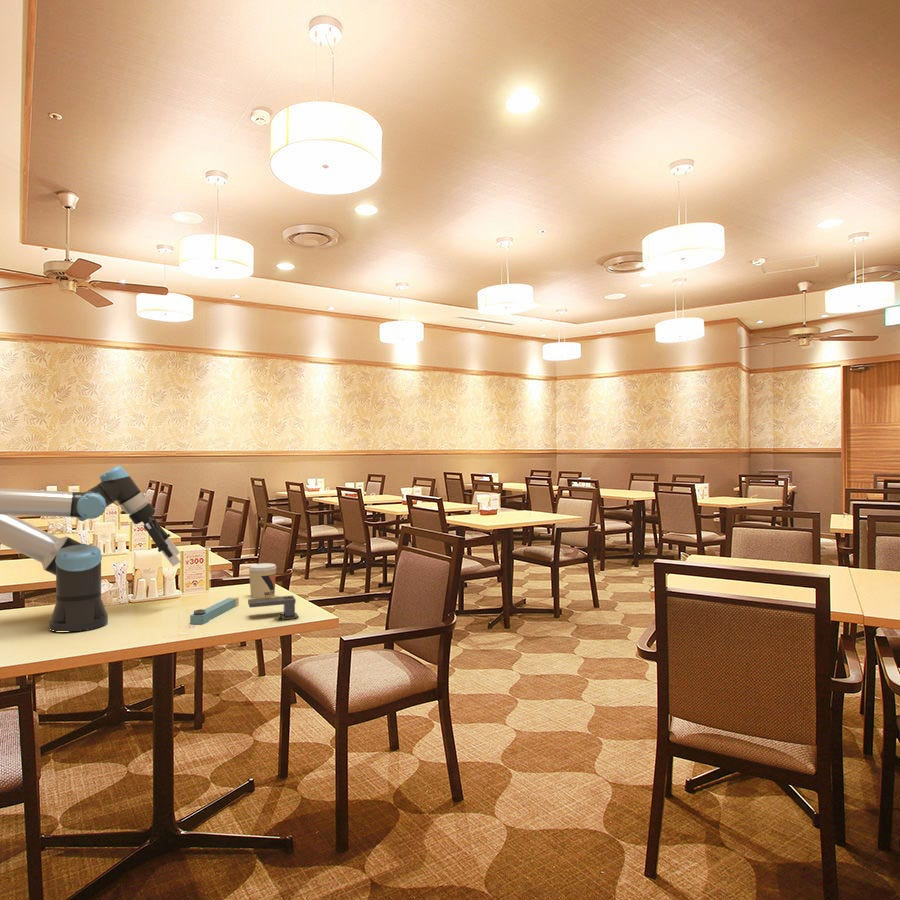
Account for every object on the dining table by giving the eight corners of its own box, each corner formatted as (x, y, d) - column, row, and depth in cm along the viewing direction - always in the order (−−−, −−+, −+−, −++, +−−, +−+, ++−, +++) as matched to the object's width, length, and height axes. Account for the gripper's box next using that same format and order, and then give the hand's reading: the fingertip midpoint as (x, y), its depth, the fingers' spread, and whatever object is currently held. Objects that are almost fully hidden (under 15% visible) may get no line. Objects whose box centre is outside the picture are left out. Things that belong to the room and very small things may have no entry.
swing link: (202, 624, 187) (202, 615, 187) (189, 624, 188) (189, 615, 188) (239, 605, 211) (239, 597, 211) (228, 604, 212) (228, 596, 212)
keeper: (249, 624, 192) (249, 603, 192) (248, 619, 198) (248, 599, 198) (298, 619, 198) (298, 599, 198) (295, 614, 203) (295, 595, 203)
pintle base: (184, 633, 183) (184, 616, 183) (178, 625, 191) (178, 609, 191) (221, 628, 188) (221, 611, 188) (213, 620, 196) (213, 605, 196)
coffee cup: (266, 603, 219) (266, 568, 219) (243, 601, 222) (243, 566, 222) (281, 597, 227) (281, 563, 228) (259, 595, 231) (259, 562, 231)
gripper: (147, 507, 201) (187, 561, 207) (150, 497, 224) (186, 545, 230) (125, 521, 199) (166, 575, 204) (130, 509, 222) (167, 557, 227)
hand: (176, 559), depth 217 cm, fingers open, 13 cm apart
